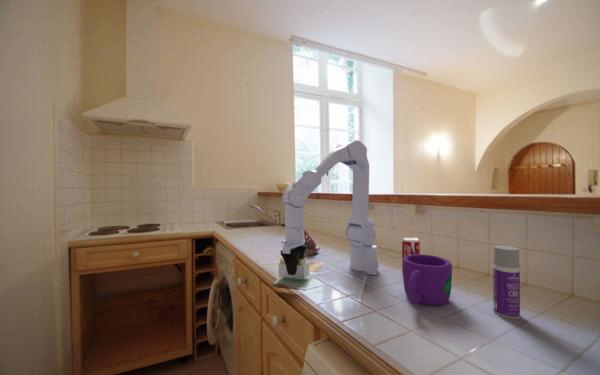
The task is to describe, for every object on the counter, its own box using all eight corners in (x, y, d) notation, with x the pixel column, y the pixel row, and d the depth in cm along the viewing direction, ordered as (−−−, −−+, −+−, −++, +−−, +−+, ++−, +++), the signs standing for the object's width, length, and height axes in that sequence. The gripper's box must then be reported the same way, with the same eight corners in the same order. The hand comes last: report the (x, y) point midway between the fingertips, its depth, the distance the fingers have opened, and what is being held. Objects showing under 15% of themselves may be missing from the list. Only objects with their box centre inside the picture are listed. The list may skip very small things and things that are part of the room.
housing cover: (285, 259, 81) (285, 255, 81) (306, 261, 79) (306, 257, 79) (280, 262, 78) (280, 258, 78) (301, 264, 75) (301, 260, 75)
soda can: (399, 276, 82) (399, 238, 82) (405, 272, 86) (405, 236, 86) (416, 280, 79) (416, 241, 79) (422, 275, 83) (422, 238, 83)
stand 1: (315, 278, 81) (315, 275, 81) (305, 290, 72) (305, 287, 72) (285, 275, 84) (285, 272, 84) (273, 286, 75) (273, 283, 75)
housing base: (285, 271, 82) (284, 258, 82) (309, 273, 79) (308, 260, 79) (278, 276, 77) (278, 263, 77) (303, 279, 74) (303, 265, 74)
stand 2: (324, 265, 93) (324, 263, 93) (317, 275, 84) (317, 272, 84) (298, 263, 97) (298, 260, 97) (288, 272, 87) (288, 269, 87)
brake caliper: (283, 251, 105) (293, 226, 111) (295, 262, 112) (304, 237, 118) (307, 255, 99) (316, 228, 105) (318, 267, 106) (326, 240, 112)
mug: (411, 286, 74) (411, 251, 74) (456, 297, 67) (456, 258, 67) (386, 307, 62) (385, 265, 61) (438, 324, 54) (438, 276, 54)
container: (512, 321, 55) (512, 251, 55) (488, 311, 59) (488, 246, 59) (524, 316, 57) (524, 248, 57) (500, 307, 61) (500, 244, 61)
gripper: (290, 222, 86) (290, 263, 86) (272, 230, 72) (272, 278, 72) (310, 223, 84) (310, 265, 84) (296, 231, 70) (296, 281, 70)
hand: (294, 271), depth 78 cm, fingers closed on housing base, 5 cm apart
